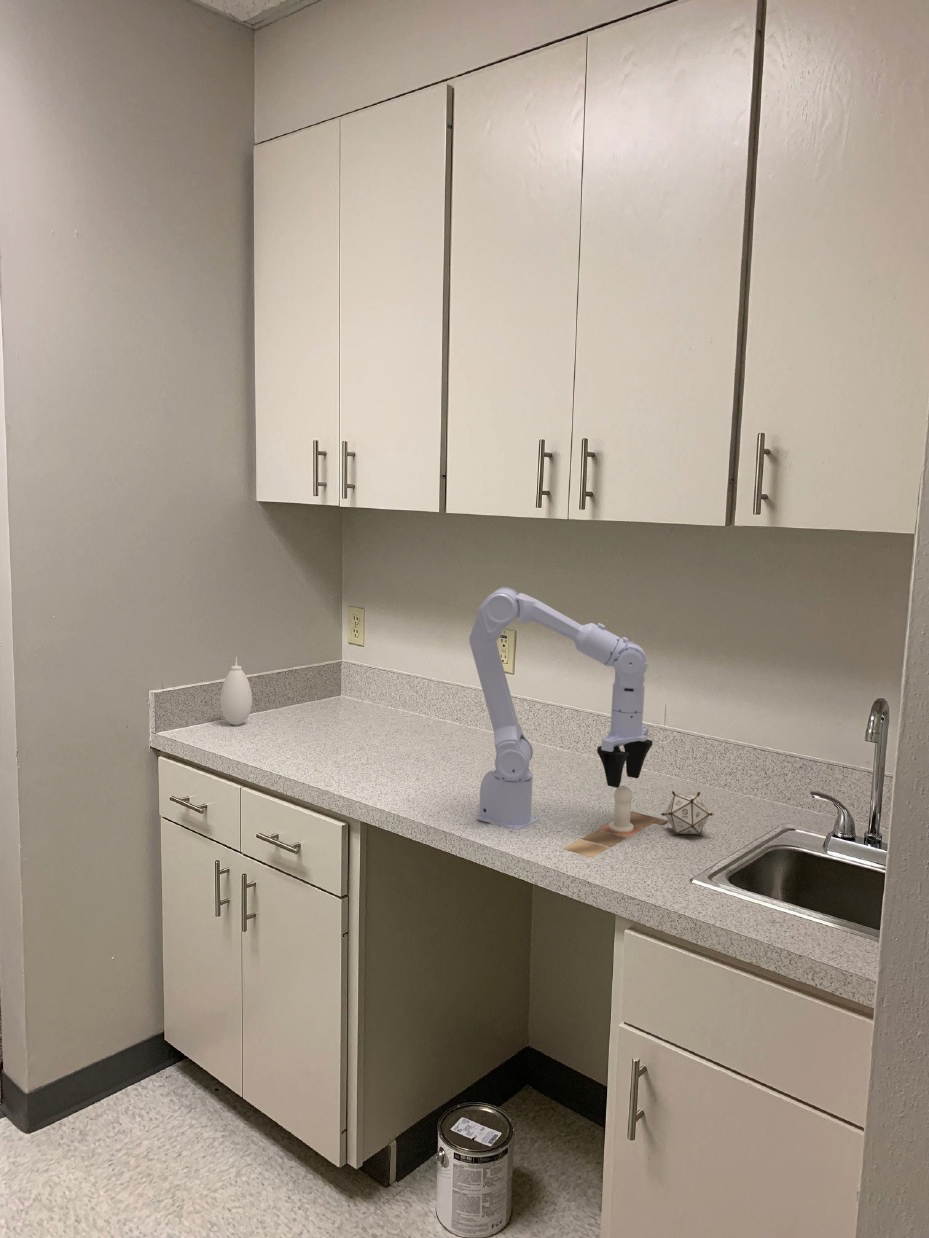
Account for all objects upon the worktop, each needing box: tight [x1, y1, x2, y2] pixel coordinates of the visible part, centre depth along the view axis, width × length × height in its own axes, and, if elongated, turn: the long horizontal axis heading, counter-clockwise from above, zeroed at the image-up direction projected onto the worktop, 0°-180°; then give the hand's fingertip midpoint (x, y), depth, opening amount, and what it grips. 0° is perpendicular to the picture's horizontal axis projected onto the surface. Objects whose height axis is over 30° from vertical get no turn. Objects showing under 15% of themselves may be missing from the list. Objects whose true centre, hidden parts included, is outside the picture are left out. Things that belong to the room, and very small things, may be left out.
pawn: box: [608, 785, 634, 833], centre depth 174 cm, size 4×4×8 cm
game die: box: [660, 790, 714, 837], centre depth 173 cm, size 9×8×10 cm
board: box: [562, 810, 669, 859], centre depth 172 cm, size 9×28×1 cm, turn 143°
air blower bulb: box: [220, 656, 253, 726], centre depth 243 cm, size 8×8×18 cm
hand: (623, 781), depth 174 cm, fingers open, 7 cm apart
